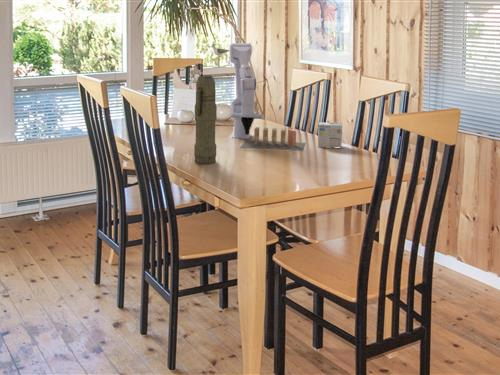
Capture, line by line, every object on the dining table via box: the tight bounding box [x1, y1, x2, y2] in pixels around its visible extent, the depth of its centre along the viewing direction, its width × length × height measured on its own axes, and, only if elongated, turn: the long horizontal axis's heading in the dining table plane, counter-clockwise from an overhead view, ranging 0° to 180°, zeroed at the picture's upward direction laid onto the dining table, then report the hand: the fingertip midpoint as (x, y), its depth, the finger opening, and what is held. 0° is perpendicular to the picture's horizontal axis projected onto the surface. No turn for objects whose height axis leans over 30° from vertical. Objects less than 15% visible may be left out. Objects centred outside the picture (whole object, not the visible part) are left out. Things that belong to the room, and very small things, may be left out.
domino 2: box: [262, 127, 269, 145], centre depth 352 cm, size 2×5×7 cm, turn 172°
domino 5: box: [287, 128, 297, 146], centre depth 351 cm, size 2×5×7 cm, turn 22°
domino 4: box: [280, 128, 287, 146], centre depth 351 cm, size 2×5×7 cm, turn 172°
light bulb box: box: [317, 121, 343, 149], centre depth 350 cm, size 11×7×11 cm, turn 84°
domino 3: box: [271, 127, 278, 146], centre depth 352 cm, size 2×5×7 cm, turn 172°
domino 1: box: [253, 126, 260, 145], centre depth 353 cm, size 2×5×7 cm, turn 172°
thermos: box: [193, 74, 218, 165], centre depth 314 cm, size 9×12×35 cm
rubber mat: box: [239, 139, 307, 152], centre depth 351 cm, size 18×28×1 cm, turn 82°
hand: (247, 134), depth 353 cm, fingers closed
